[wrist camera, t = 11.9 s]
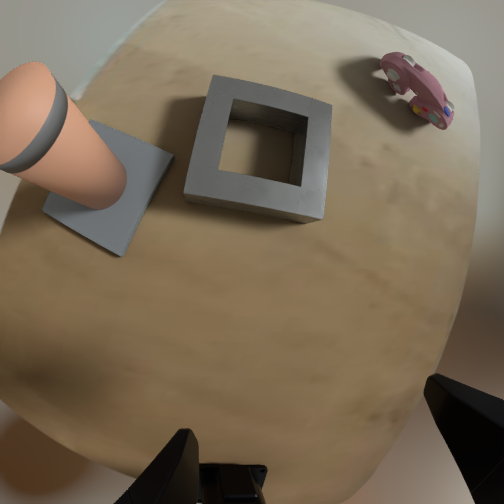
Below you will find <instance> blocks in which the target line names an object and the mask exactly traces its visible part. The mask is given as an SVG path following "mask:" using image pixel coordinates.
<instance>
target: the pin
mask: <svg viewBox="0 0 504 504" xmlns="http://www.w3.org/2000/svg"><path fill="white" fill-rule="evenodd" d="M0 170H3V171H5V172H7V173H11V174H13V175H15V176H17V177H20V178H22V179H24V180H26V181H29V182H31V183H33V184H35V185H38V186H40V187H42V188H45V189H47V190H49V191H52V192H54V193H56V194H59V195H61V196H63V197H66V198H68V199H70V200H73V201H75V202H77V203H80V204H82V205H84V206H87V207H89V208H92V209H95V210H101V209H106V208H108V207H110V206H112V205H113V204H115V203H116V202H117V201H118V200H119V199H120V197H121V196H122V194H123V192H124V190H125V187H126V183H127V174H126V170H125V168H124V166H123V164H122V163H121V162H120V161H119V159H118V158H117V157H116V156H115V155H114V153H113V152H112V151H111V150H110V149H109V147H108V146H107V145H106V144H105V142H104V141H103V140H102V139H101V138H100V136H99V135H98V134H97V133H96V131H95V130H94V129H93V128H92V126H91V125H90V124H89V123H88V121H87V120H86V119H85V117H84V116H83V115H82V114H81V112H80V111H79V110H78V109H77V107H76V106H75V105H74V103H73V102H72V101H71V99H70V98H69V97H68V96H67V94H66V93H65V91H64V89H63V88H62V87H61V85H60V84H59V83H58V81H57V80H56V79H55V77H54V76H53V75H52V74H51V73H50V71H49V70H48V69H47V67H46V66H45V65H44V64H42V63H40V62H29V63H25V64H23V65H20V66H19V67H17V68H15V69H13V70H12V71H10V72H9V73H8V74H7V75H5V76H4V77H3V78H2V79H1V80H0Z"/></svg>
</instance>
